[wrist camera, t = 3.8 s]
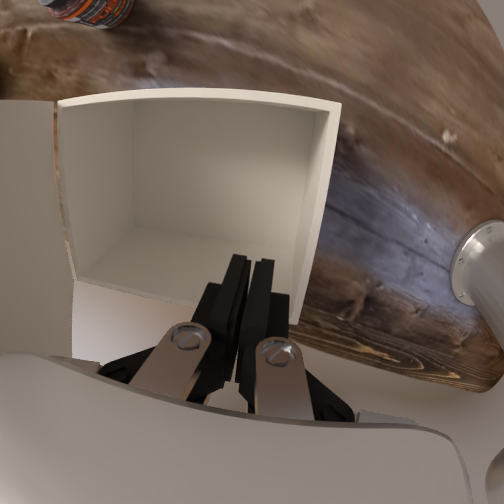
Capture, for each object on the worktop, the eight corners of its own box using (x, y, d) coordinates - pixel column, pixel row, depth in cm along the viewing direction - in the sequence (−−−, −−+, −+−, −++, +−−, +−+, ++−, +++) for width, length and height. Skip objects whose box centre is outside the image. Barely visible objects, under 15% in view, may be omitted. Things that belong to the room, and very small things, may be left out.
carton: (321, 107, 25) (341, 103, 14) (297, 253, 32) (297, 325, 22) (132, 96, 26) (57, 100, 16) (134, 228, 34) (77, 280, 23)
